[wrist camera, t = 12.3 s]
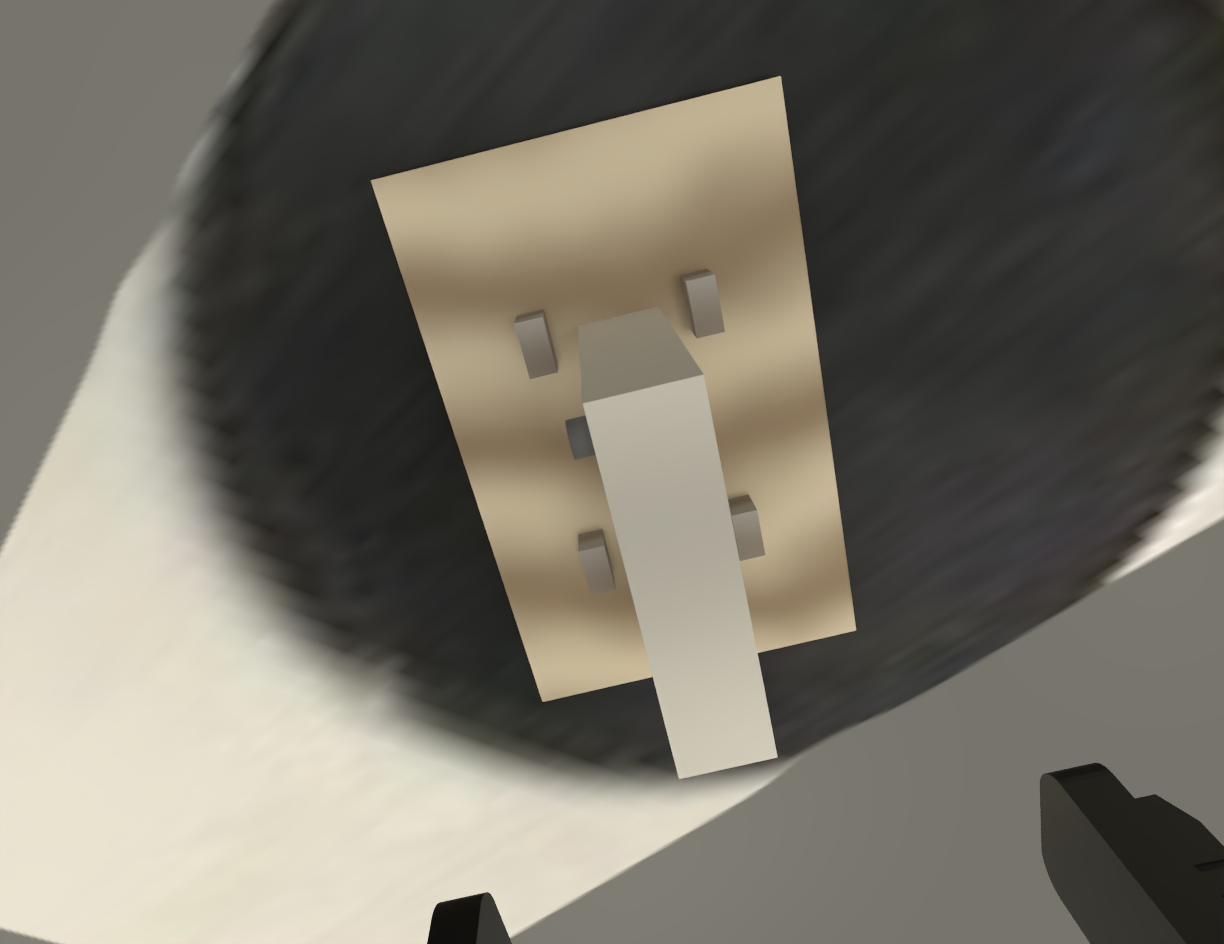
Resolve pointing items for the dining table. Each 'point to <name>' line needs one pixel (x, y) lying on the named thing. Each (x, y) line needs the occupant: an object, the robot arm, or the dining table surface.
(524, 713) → the dining table surface
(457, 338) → the light brown flat board
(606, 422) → the door panel
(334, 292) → the dining table surface
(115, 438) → the dining table surface
